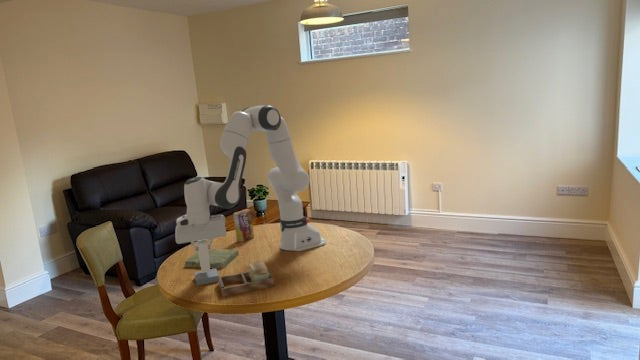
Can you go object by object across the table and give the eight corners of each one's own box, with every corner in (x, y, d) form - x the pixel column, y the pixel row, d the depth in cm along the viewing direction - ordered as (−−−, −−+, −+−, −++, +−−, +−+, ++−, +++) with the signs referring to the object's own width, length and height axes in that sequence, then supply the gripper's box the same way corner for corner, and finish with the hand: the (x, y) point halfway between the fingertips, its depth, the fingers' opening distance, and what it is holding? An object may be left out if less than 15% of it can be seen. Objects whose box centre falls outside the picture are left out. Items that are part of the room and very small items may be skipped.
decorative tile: (201, 255, 222) (200, 248, 222) (239, 255, 218) (238, 247, 217) (182, 269, 204) (180, 262, 204) (223, 270, 200) (222, 262, 199)
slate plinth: (216, 273, 195) (216, 268, 194) (219, 281, 186) (218, 275, 186) (195, 277, 192) (194, 272, 192) (196, 285, 184) (195, 279, 183)
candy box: (249, 236, 245) (246, 208, 242) (254, 237, 242) (251, 209, 240) (236, 241, 239) (232, 212, 236) (241, 242, 236) (238, 213, 233)
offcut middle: (263, 272, 186) (262, 267, 186) (269, 279, 179) (269, 273, 179) (249, 276, 184) (248, 270, 184) (255, 282, 177) (254, 277, 176)
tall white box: (208, 264, 193) (205, 237, 191) (210, 271, 185) (207, 243, 182) (200, 266, 192) (196, 238, 190) (202, 273, 183) (198, 244, 181)
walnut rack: (267, 274, 189) (266, 266, 189) (274, 285, 177) (273, 277, 177) (218, 284, 183) (217, 276, 183) (222, 296, 171) (221, 288, 171)
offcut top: (263, 267, 186) (263, 261, 185) (267, 273, 179) (267, 268, 178) (250, 270, 184) (249, 264, 184) (253, 276, 177) (252, 270, 176)
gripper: (223, 211, 190) (227, 243, 193) (172, 219, 184) (177, 252, 187) (225, 215, 184) (229, 247, 187) (173, 223, 178) (177, 256, 181)
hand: (203, 249), depth 187 cm, fingers closed on tall white box, 3 cm apart
